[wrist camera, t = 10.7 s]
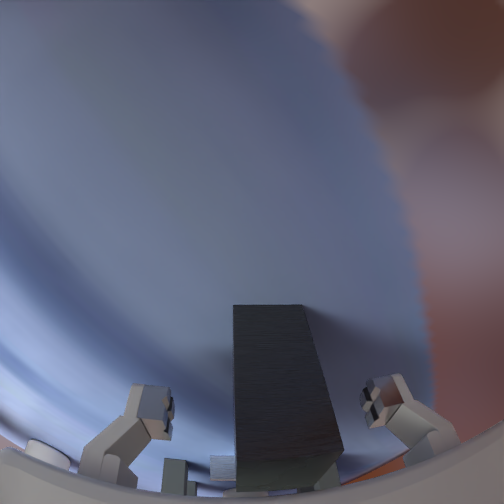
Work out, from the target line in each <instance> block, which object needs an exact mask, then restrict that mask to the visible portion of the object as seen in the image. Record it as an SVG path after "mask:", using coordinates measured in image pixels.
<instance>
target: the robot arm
mask: <svg viewBox="0 0 504 504" xmlns="http://www.w3.org/2000/svg"><path fill="white" fill-rule="evenodd" d="M366 386H367V387H365V388H364V389H363V390H362V392H361V394H360V404H361V407H362V409H363V410H364V411H365V412H367V413H366V415H365V419H366V422H367V424H368V427H369V429H370V428H375V427H380V426H384V425H386V427H387V428H388V429H389V430H390V431H391V432H392V433H393V434H394V435H395V436H396V437H398V438H399V439H400V440H401V441H402V442H403V443H404V444H405V445H406V446H407V447H409V448H410V449H411V450H410V451H409V452H408V453H407V454H405V455H404V457H403V460H404V463H405V466H406V468H403V469H400V470H397V471H394V472H391V473H388V474H385V475H382V476H379V477H375V478H372V479H368V480H364V481H360V482H356V483H352V484H348V485H343V486H338V487H333V488H328V489H323V490H317V491H311V492H304V493H296V494H287V495H277V496H263V497H200V496H187V495H176V494H168V493H160V492H153V491H147V490H141V489H137V481H138V477H137V476H136V475H135V474H134V473H133V472H132V471H131V470H130V469H129V468H128V466H129V465H130V464H131V463H132V462H133V461H134V460H135V458H136V457H137V456H138V455H139V454H140V453H141V451H142V450H143V449H144V448H145V447H146V446H147V444H148V443H149V442H150V441H151V439H158V440H170V441H171V438H172V429H173V427H172V424H171V421H172V420H173V419H174V412H175V405H174V399H173V397H171V389H170V387H163V386H153V385H145V384H137V383H133V384H132V386H131V389H130V392H129V396H128V400H127V404H126V408H125V412H124V416H119V417H118V418H117V419H116V420H115V421H113V422H112V423H111V424H110V425H109V426H108V427H107V428H105V429H104V430H103V431H102V432H101V433H100V434H99V435H97V436H96V437H95V438H94V439H93V440H92V441H90V442H89V443H88V444H87V445H86V446H85V447H84V449H83V453H82V457H81V461H80V465H79V469H78V473H74V472H71V471H68V470H65V469H62V468H60V467H57V466H54V465H52V464H49V463H47V462H44V461H42V460H39V459H37V458H35V457H32V456H30V455H28V454H26V453H24V452H22V451H20V450H17V449H15V448H12V447H6V448H4V449H2V450H0V504H504V420H502V421H501V422H499V423H497V424H496V425H494V426H492V427H491V428H489V429H487V430H486V431H484V432H482V433H481V434H479V435H477V436H475V437H473V438H471V439H470V440H468V441H466V442H464V443H462V444H461V442H460V440H459V438H458V436H457V434H456V431H455V429H454V427H453V425H452V423H451V422H449V421H448V420H446V419H445V418H443V417H442V416H440V415H439V414H437V413H436V412H434V411H433V410H431V409H430V408H428V407H427V406H425V405H424V404H422V403H421V402H419V401H418V400H414V399H413V397H412V395H411V393H410V391H409V389H408V387H407V385H406V383H405V381H404V379H403V377H402V375H401V374H400V373H397V374H392V375H386V376H381V377H376V378H370V379H369V380H368V381H367V382H366Z"/></svg>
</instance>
